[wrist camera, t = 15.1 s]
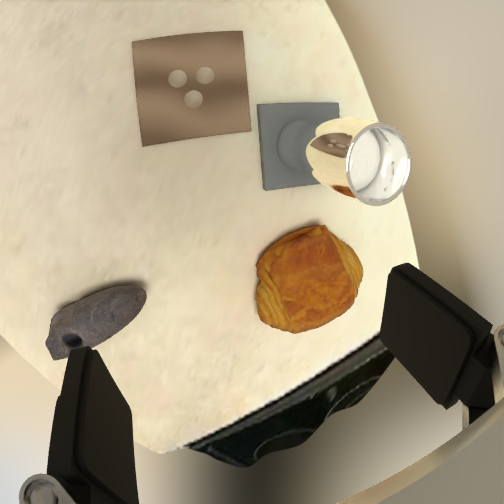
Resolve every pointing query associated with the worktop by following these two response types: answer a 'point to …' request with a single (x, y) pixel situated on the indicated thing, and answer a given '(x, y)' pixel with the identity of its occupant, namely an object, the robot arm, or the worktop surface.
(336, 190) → the beer glass
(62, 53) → the worktop surface
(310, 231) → the croissant
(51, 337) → the perforated stone tool
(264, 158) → the rubber mat
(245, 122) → the dot tile
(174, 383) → the worktop surface
